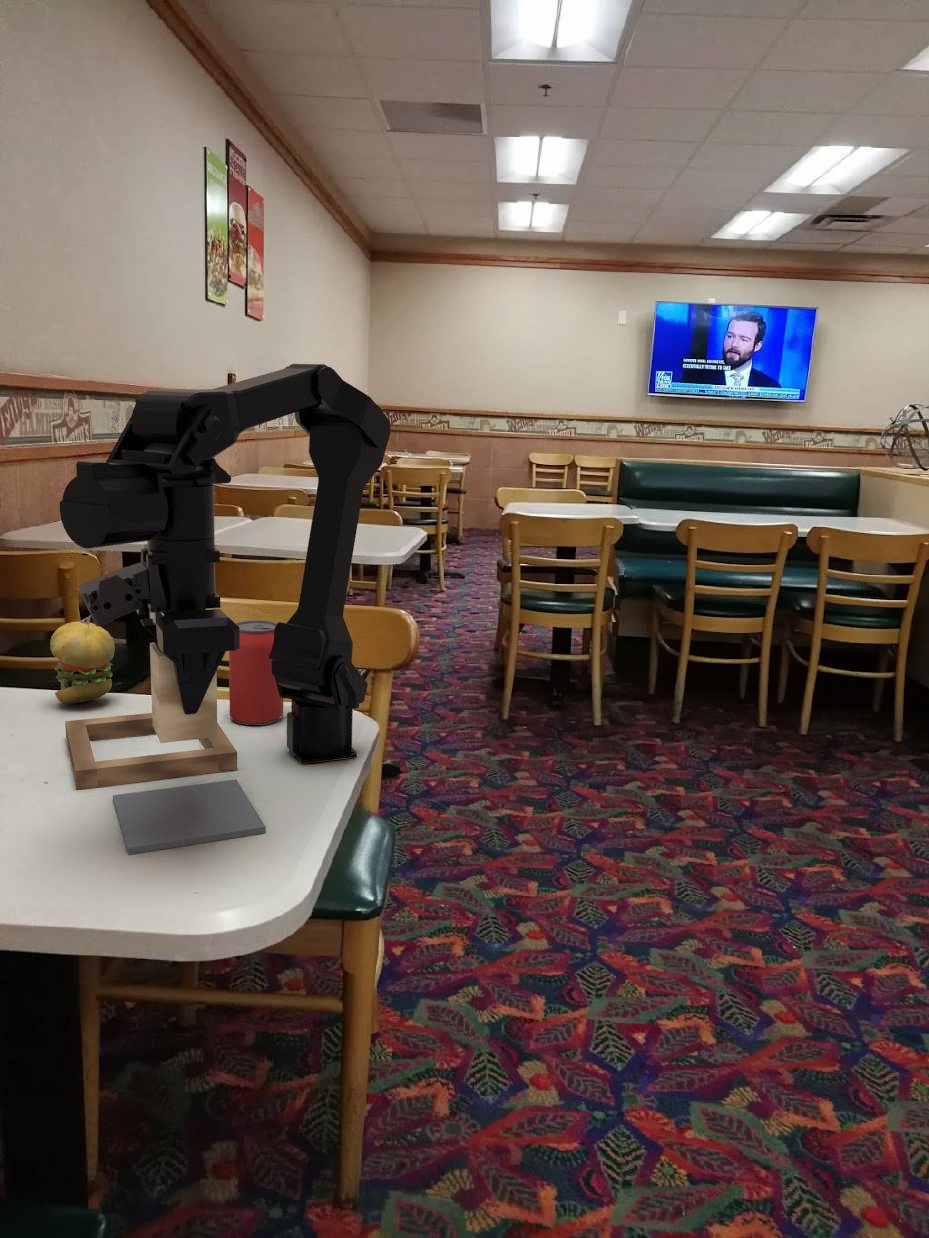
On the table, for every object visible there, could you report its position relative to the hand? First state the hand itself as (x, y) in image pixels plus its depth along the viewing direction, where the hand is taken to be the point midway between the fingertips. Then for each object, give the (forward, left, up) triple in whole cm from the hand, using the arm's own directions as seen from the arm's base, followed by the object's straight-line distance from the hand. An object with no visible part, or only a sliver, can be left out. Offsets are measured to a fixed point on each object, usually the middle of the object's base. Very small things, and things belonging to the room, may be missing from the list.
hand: (185, 704), depth 86 cm
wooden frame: (+1, -18, -11) cm, 21 cm away
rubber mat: (0, 0, -11) cm, 11 cm away
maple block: (0, 0, -3) cm, 3 cm away
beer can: (-13, -26, -11) cm, 31 cm away
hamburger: (+6, -38, -11) cm, 40 cm away
